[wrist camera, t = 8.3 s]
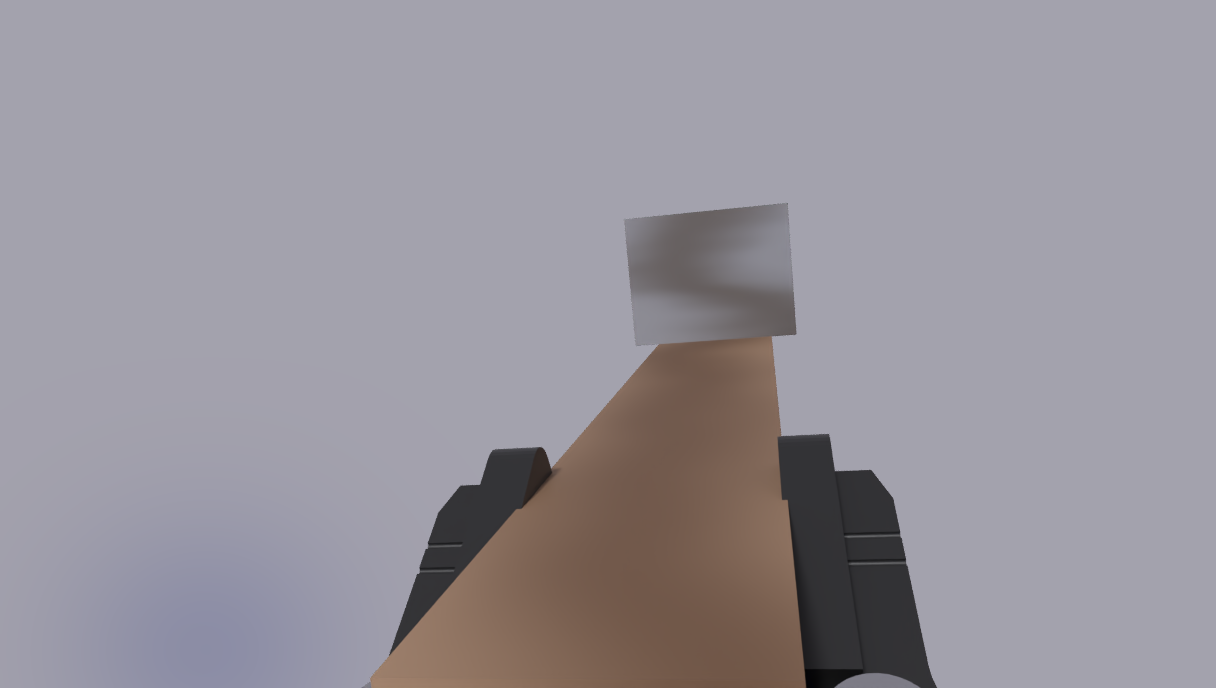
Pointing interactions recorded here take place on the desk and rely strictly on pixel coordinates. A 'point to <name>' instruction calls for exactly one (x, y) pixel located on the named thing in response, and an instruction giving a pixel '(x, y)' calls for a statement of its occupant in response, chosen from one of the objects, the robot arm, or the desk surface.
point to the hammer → (650, 500)
